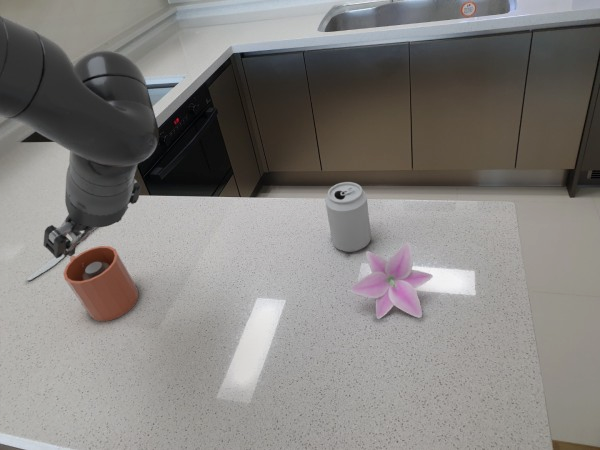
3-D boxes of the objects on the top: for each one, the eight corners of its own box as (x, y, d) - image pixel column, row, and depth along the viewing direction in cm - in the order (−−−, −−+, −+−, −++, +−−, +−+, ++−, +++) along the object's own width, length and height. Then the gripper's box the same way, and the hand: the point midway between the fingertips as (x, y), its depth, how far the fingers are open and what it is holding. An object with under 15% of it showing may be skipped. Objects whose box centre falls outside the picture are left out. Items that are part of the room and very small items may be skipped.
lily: (342, 309, 77) (344, 295, 68) (366, 248, 81) (371, 227, 72) (411, 337, 75) (422, 326, 66) (432, 273, 79) (446, 255, 70)
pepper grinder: (110, 313, 84) (89, 280, 79) (95, 303, 87) (74, 271, 82) (131, 295, 87) (112, 262, 82) (116, 287, 90) (97, 255, 84)
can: (328, 234, 92) (319, 185, 84) (364, 225, 92) (358, 175, 85) (338, 258, 86) (329, 207, 78) (376, 248, 86) (371, 196, 79)
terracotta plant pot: (148, 293, 87) (127, 255, 81) (107, 328, 82) (81, 290, 76) (110, 272, 94) (88, 235, 88) (70, 303, 89) (43, 265, 83)
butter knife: (124, 206, 113) (116, 203, 114) (32, 282, 96) (23, 278, 97) (125, 208, 113) (117, 205, 114) (33, 284, 96) (24, 280, 98)
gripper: (124, 136, 61) (111, 190, 74) (25, 196, 53) (31, 244, 66) (164, 178, 61) (144, 223, 74) (72, 243, 53) (68, 281, 66)
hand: (91, 233), depth 70 cm, fingers open, 8 cm apart
